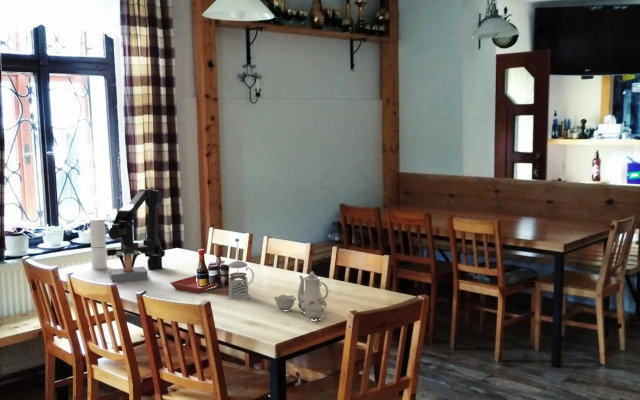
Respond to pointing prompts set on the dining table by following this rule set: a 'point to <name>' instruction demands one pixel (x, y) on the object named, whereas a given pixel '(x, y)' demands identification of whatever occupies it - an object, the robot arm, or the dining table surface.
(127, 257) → the peg
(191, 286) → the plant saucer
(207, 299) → the dining table surface
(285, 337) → the dining table surface
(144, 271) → the socket block
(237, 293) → the french press
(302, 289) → the chinaware
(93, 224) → the cylindrical container
